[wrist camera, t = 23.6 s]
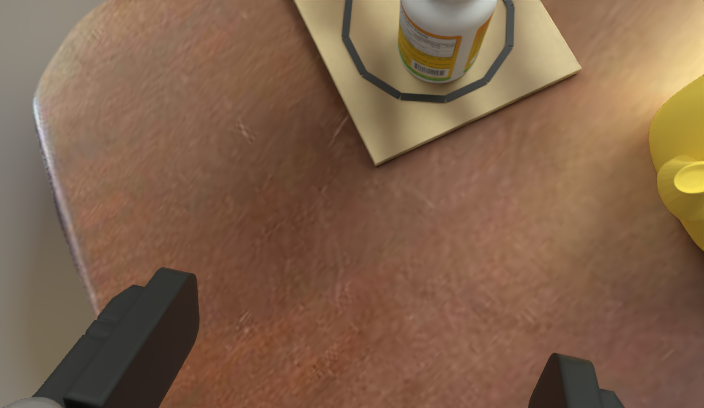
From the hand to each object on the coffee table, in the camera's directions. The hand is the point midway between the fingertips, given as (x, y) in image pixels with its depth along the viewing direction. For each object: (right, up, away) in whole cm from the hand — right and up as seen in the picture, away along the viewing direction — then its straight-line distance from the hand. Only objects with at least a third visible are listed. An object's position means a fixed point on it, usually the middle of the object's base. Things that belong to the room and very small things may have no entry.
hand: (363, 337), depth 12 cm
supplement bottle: (+5, +13, +24) cm, 28 cm away
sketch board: (+5, +15, +25) cm, 30 cm away
